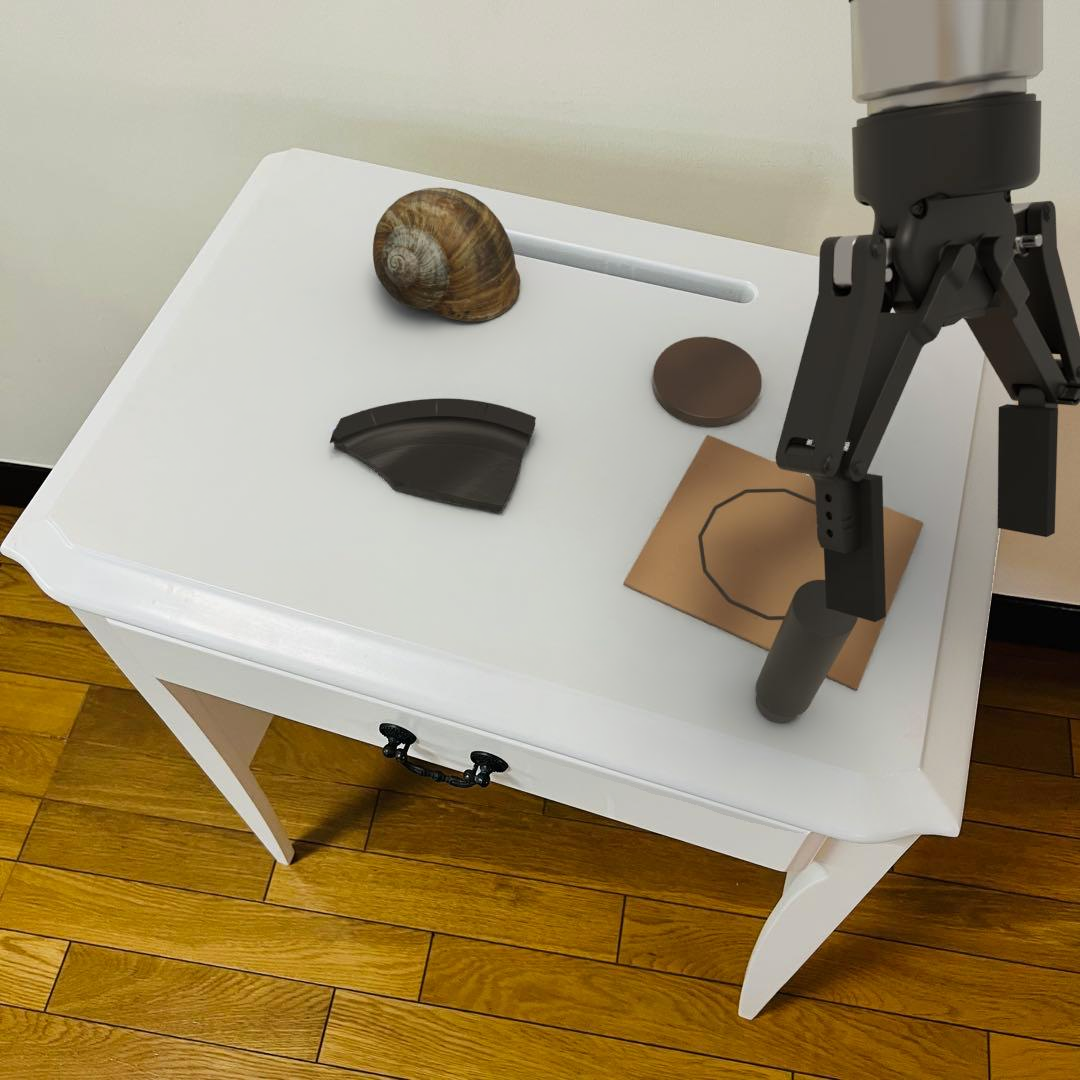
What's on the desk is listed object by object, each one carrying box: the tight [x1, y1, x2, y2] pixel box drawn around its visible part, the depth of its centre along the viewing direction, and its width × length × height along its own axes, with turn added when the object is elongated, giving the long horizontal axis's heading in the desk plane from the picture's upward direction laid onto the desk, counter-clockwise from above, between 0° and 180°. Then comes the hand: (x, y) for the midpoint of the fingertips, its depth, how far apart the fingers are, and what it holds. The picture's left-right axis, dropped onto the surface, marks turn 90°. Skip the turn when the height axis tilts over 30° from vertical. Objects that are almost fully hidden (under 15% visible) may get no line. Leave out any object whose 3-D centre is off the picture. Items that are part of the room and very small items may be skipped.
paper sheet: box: [623, 434, 924, 691], centre depth 70 cm, size 16×14×1 cm
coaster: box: [651, 336, 763, 428], centre depth 77 cm, size 8×8×1 cm
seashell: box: [372, 187, 521, 322], centre depth 80 cm, size 11×9×8 cm
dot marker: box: [755, 580, 858, 724], centre depth 59 cm, size 3×3×12 cm
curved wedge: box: [329, 397, 537, 514], centre depth 74 cm, size 8×14×2 cm, turn 73°
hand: (946, 569), depth 51 cm, fingers open, 13 cm apart
